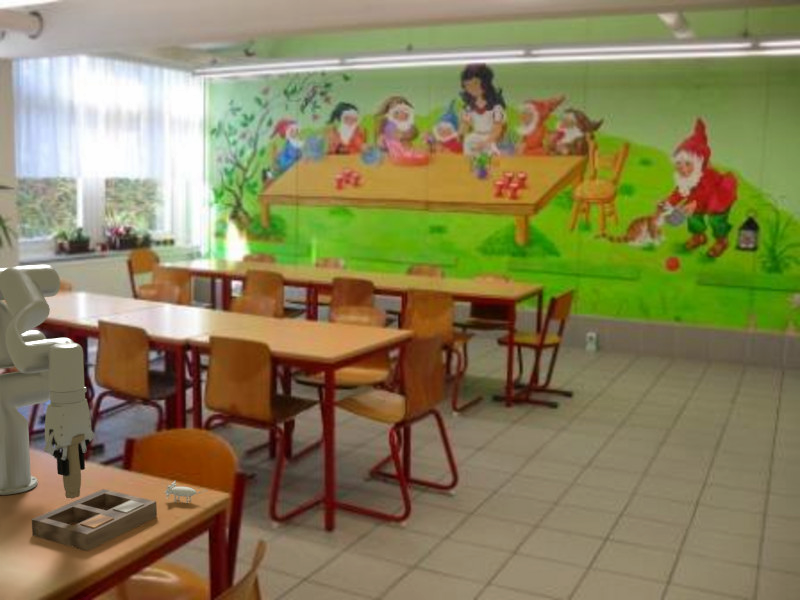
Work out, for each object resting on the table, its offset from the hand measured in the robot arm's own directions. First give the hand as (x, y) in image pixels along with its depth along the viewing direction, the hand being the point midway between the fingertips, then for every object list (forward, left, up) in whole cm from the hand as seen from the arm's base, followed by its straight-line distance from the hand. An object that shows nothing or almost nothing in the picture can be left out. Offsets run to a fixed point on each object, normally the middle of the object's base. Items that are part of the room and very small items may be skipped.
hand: (71, 471), depth 193 cm
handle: (0, 0, -6) cm, 6 cm away
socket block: (+2, +5, -15) cm, 16 cm away
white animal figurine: (+11, +27, -15) cm, 33 cm away
